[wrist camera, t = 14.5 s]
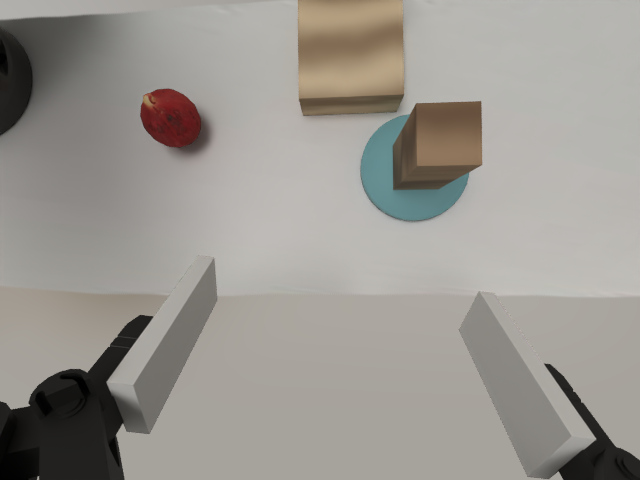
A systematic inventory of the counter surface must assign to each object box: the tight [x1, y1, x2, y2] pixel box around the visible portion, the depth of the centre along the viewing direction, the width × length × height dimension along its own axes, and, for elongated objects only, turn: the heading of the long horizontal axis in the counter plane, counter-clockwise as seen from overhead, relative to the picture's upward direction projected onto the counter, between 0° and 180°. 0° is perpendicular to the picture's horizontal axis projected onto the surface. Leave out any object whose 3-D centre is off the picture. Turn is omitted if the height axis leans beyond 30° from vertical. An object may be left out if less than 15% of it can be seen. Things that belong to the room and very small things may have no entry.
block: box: [393, 101, 482, 190], centre depth 28 cm, size 5×5×10 cm
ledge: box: [298, 0, 404, 115], centre depth 30 cm, size 12×11×10 cm
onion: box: [140, 89, 201, 147], centre depth 32 cm, size 6×6×8 cm
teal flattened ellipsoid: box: [361, 115, 469, 221], centre depth 34 cm, size 12×12×1 cm
